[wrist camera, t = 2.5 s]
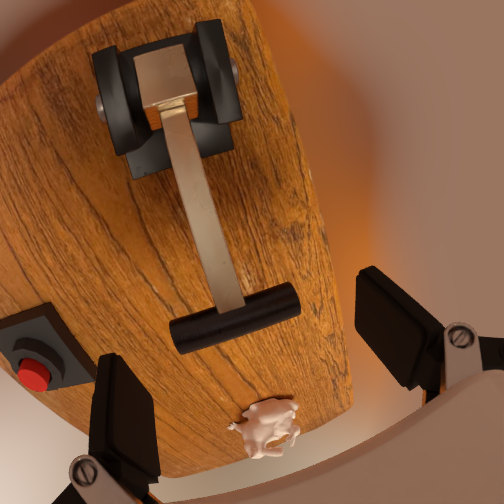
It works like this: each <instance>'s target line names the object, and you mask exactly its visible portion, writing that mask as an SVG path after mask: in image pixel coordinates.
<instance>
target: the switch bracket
mask: <svg viewBox="0 0 504 504" xmlns="http://www.w3.org/2000/svg"><path fill="white" fill-rule="evenodd" d="M178 44H184V45H185V48H186V52H187V55H188V58H189V62H190V65H191V68H192V72H193V75H194V78H195V81H196V85H197V88H198V91H199V116H198V117H197V118H194V119H190V122H191V126H192V129H193V133H194V136H195V140H196V143H197V147H198V150H199V154H200V157H201V158H204V157H208V156H212V155H215V154H219V153H223V152H226V151H230V150H234V145H233V141H232V136H231V132H230V127H229V123H230V122H234V121H239V120H242V119H243V116H242V111H241V106H240V102H239V97H238V93H237V88H236V86H237V85H238V82H239V74H238V69H237V65H236V63H235V61H234V59H233V58H230V57H229V53H228V48H227V44H226V40H225V36H224V31H223V27H222V23H221V19H214V20H208V21H202V22H197V23H195V25H194V28H193V31H192V33H187V34H183V35H178V36H174V37H170V38H166V39H162V40H158V41H155V42H151V43H148V44H144V45H141V46H138V47H135V48H132V49H128V50H126V51H123V52H120V51H119V49H118V48H117V46H116V45H113V46H110V47H108V48H105V49H102V50H100V51H97V52H95V53H93V54H92V60H93V65H94V70H95V75H96V80H97V85H98V89H99V93H100V94H99V95H97V96H96V99H95V103H96V109H97V112H98V115H99V118H100V120H101V122H102V123H103V124H106V123H107V125H108V129H109V132H110V136H111V140H112V143H113V146H114V150H115V153H116V155H117V156H121V155H123V154H125V156H126V159H127V162H128V165H129V169H130V172H131V175H132V178H133V180H135V179H138V178H141V177H144V176H147V175H150V174H153V173H156V172H159V171H162V170H165V169H168V168H171V167H172V164H171V160H170V156H169V152H168V148H167V145H166V141H165V137H164V133H163V129H162V128H160V129H157V130H151V128H150V126H149V124H148V121H147V119H146V117H145V114H144V112H143V110H142V107H141V102H140V97H139V92H138V87H137V82H136V76H135V71H134V65H133V57H135V56H138V55H141V54H144V53H148V52H151V51H155V50H158V49H162V48H166V47H169V46H173V45H178Z"/></svg>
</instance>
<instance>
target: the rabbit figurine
mask: <svg viewBox="0 0 504 504" xmlns="http://www.w3.org/2000/svg"><path fill="white" fill-rule="evenodd" d="M297 409H298V404H297V403H296V402H295V401H293V400H289V399H282V400H277V399H275V398H271V399H268V400H265V401H262V402H258V403H255V404H252V405H251V406H250V409H249V410H247V411H245V412H244V413H243V414H242V416H243V417H248V418H247V419H248V420H249V421H248V422H246V424H236V423H234V422H233V424H230V425H231V426H228V427H227V428H229V429H230V430H233V429H236V430H237V431H239V432H241V433H242V437H243V439H244V441H245V444H244V448H245V450H246V452H247V453H248V455H249V457H250V458H256V459H257V458H261V457H263V456H264V455H267V456H275V457H277V456H282V455H283V447H276V448H265V447H266V444H267V443H268V442H270V441H273V440H278V439H280V438H281V437H282V436H283V435H286V434H290V436H288V437H287V438H286V439H285V441H286V442H289V441H290V440H291V439H292V440H291V443H290V447H293V446H294V443H295V439H296V436H298V435H299V434H300V427H299V426H298V425H294V426H293V420H292V419H294V418H295V410H297Z"/></svg>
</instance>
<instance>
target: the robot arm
mask: <svg viewBox="0 0 504 504" xmlns="http://www.w3.org/2000/svg"><path fill="white" fill-rule="evenodd" d="M355 328H356V331H357V332H358V333H359V334H360V336H361V337H362V338H363V339H364V341H365V342H366V343H367V344H368V346H369V347H370V348H371V349H372V350H373V352H374V353H375V354H376V355H377V357H378V358H379V359H380V360H381V361H382V363H383V364H384V365H385V366H386V368H387V369H388V370H389V371H390V373H391V374H392V375H393V376H394V378H395V379H396V380H397V381H398V383H399V384H400V385H401V386H402V387H405V386H406V387H407V388H408V390H409V391H411V390H412V389H414V388H415V387H417V386H418V385H420V387H421V388H422V389H423V399H422V407H421V408H420V409H418V410H416V411H415V412H414V413H412V414H410V415H409V416H407V417H406V418H404V419H402V420H401V421H399V422H398V423H396V424H394V425H393V426H391V427H389V428H388V429H386V430H384V431H382V432H381V433H379V434H377V435H375V436H374V437H372V438H370V439H368V440H366V441H364V442H363V443H360V444H359V445H357V446H355V447H353V448H351V449H349V450H347V451H344V452H342V453H340V454H338V455H336V456H334V457H332V458H329V459H327V460H325V461H322V462H320V463H318V464H315V465H313V466H310V467H308V468H306V469H303V470H300V471H297V472H295V473H292V474H289V475H286V476H284V477H280V478H277V479H274V480H271V481H268V482H265V483H261V484H258V485H255V486H252V487H247V488H244V489H240V490H236V491H232V492H227V493H223V494H218V495H213V496H208V497H203V498H197V499H191V500H185V501H178V502H171V503H162V502H161V501H160V500H158V499H157V498H156V497H155V496H154V495H152V494H151V493H150V492H149V486H148V484H153V483H159V482H158V476H160V475H161V470H160V463H159V455H158V447H157V438H156V428H155V417H154V403H153V399H152V396H151V394H150V393H149V392H148V391H147V389H146V388H145V387H144V386H143V385H142V383H141V382H140V381H139V379H138V378H137V377H136V376H135V374H134V373H133V372H132V370H131V369H130V368H129V366H128V365H127V364H126V362H125V361H124V360H123V358H122V357H121V356H120V355H116V354H115V353H109V354H105V355H101V356H100V357H99V361H98V368H97V375H96V382H95V391H94V394H93V397H92V405H91V416H90V430H89V451H88V455H81V456H78V457H77V458H75V459H74V460H73V461H72V463H71V465H70V468H69V477H70V480H71V483H70V484H69V485H68V486H67V488H66V489H65V490H64V491H63V492H62V493H61V494H60V495H59V496H58V497H57V498H56V500H55V501H54V502H53V503H52V504H504V338H493V337H480V336H478V335H477V333H476V331H475V330H474V328H472V327H471V326H470V325H468V324H466V323H461V322H455V323H452V324H450V325H449V326H447V327H446V328H445V327H443V325H442V324H441V323H440V322H439V321H438V320H437V319H436V318H434V317H433V316H432V315H431V314H430V313H429V312H428V311H427V310H426V309H424V308H423V307H422V306H421V305H420V304H419V303H418V302H416V301H415V300H414V299H413V298H412V297H411V296H410V295H408V294H407V293H406V292H405V291H404V290H403V289H401V288H400V287H399V286H398V285H397V284H396V283H394V282H393V281H392V280H391V279H390V278H388V277H387V276H386V275H385V274H383V273H382V272H381V271H380V270H379V269H378V268H376V267H375V266H369V267H367V268H365V269H362V270H360V271H359V275H357V277H356V301H355Z"/></svg>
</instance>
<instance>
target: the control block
mask: <svg viewBox="0 0 504 504" xmlns="http://www.w3.org/2000/svg"><path fill="white" fill-rule="evenodd" d="M0 351H1V352H2V354H3V355H4V356H5V357H6V359H7V360H8V361H9V362H10V364H11V367H12V370H13V371H14V372H15V373H16V374H17V375H18V371H19V368H20V365H21V362H22V360H23V359H24V358H31V359H35V360H37V361H38V362H40V363H42V364H43V365H45V366H46V368H47V369H48V370H49V371H50V379H49V383H48V387H47V390H45V391H51V390H57V389H58V388H63V387H69V386H74V385H80V384H85V383H90V382H95V381H96V373H97V367H96V365H95V364H94V363H93V362H92V360H91V359H90V358H89V357H88V355H87V354H86V353H85V351H84V350H83V349H82V347H81V346H80V345H79V343H78V342H77V341H76V339H75V338H74V337H73V335H72V334H71V332H70V331H69V330H68V328H67V327H66V325H65V324H64V322H63V321H62V319H61V318H60V316H59V315H58V313H57V312H56V310H55V309H54V307H53V305H52V304H51V302H49V303H46V304H43V305H40V306H38V307H35V308H32V309H29V310H26V311H24V312H21V313H18V314H15V315H12V316H10V317H7V318H4V319H1V320H0ZM36 392H38V391H36Z"/></svg>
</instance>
